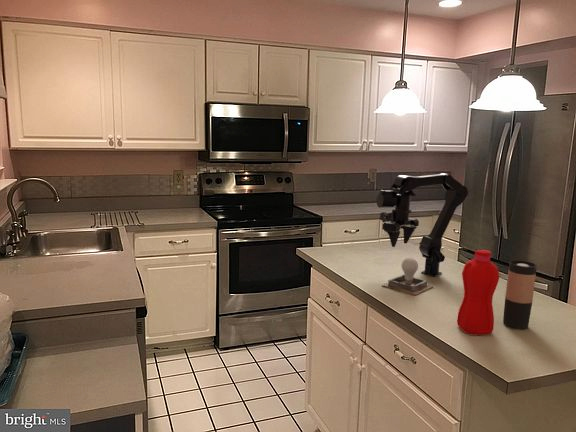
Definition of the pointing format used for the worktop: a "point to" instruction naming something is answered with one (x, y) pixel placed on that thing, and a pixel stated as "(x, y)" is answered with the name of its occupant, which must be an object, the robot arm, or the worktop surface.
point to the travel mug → (519, 294)
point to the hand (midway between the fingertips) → (399, 245)
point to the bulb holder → (414, 289)
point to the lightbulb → (409, 269)
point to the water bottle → (478, 295)
